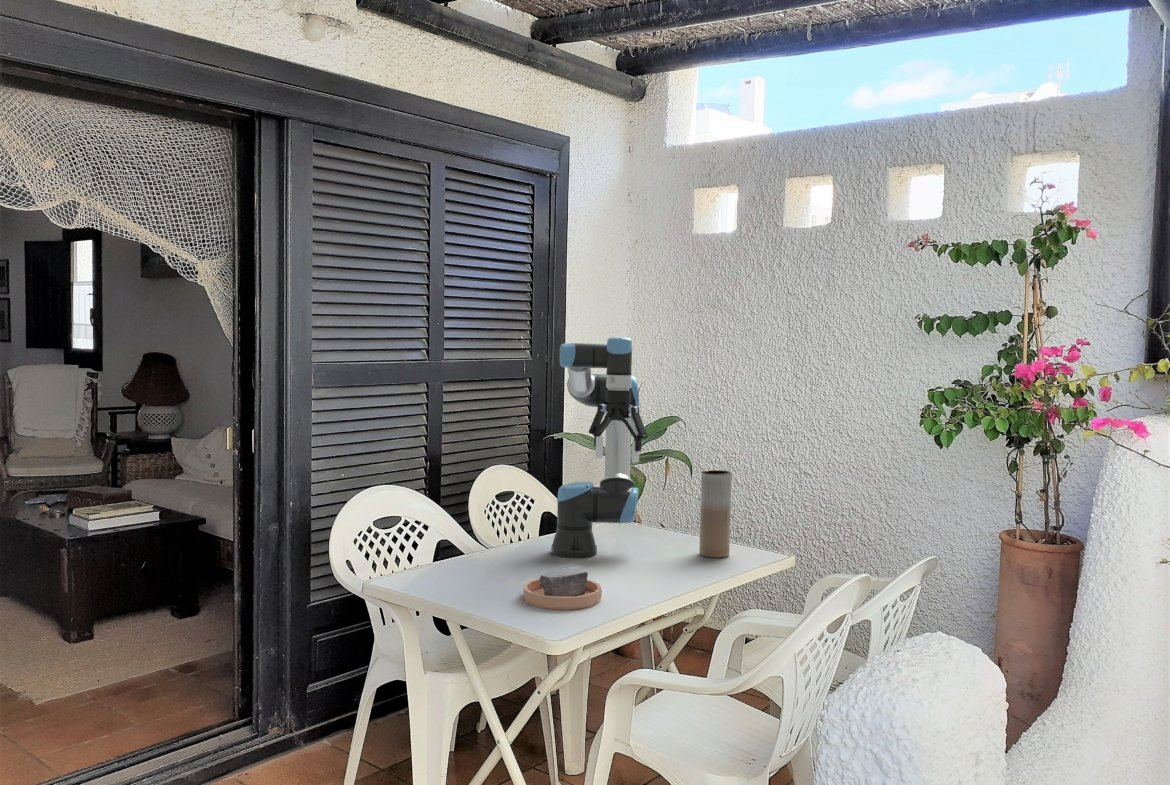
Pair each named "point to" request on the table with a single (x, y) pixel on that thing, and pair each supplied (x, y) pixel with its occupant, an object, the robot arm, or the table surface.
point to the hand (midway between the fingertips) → (616, 460)
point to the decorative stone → (564, 582)
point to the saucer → (538, 599)
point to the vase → (715, 513)
